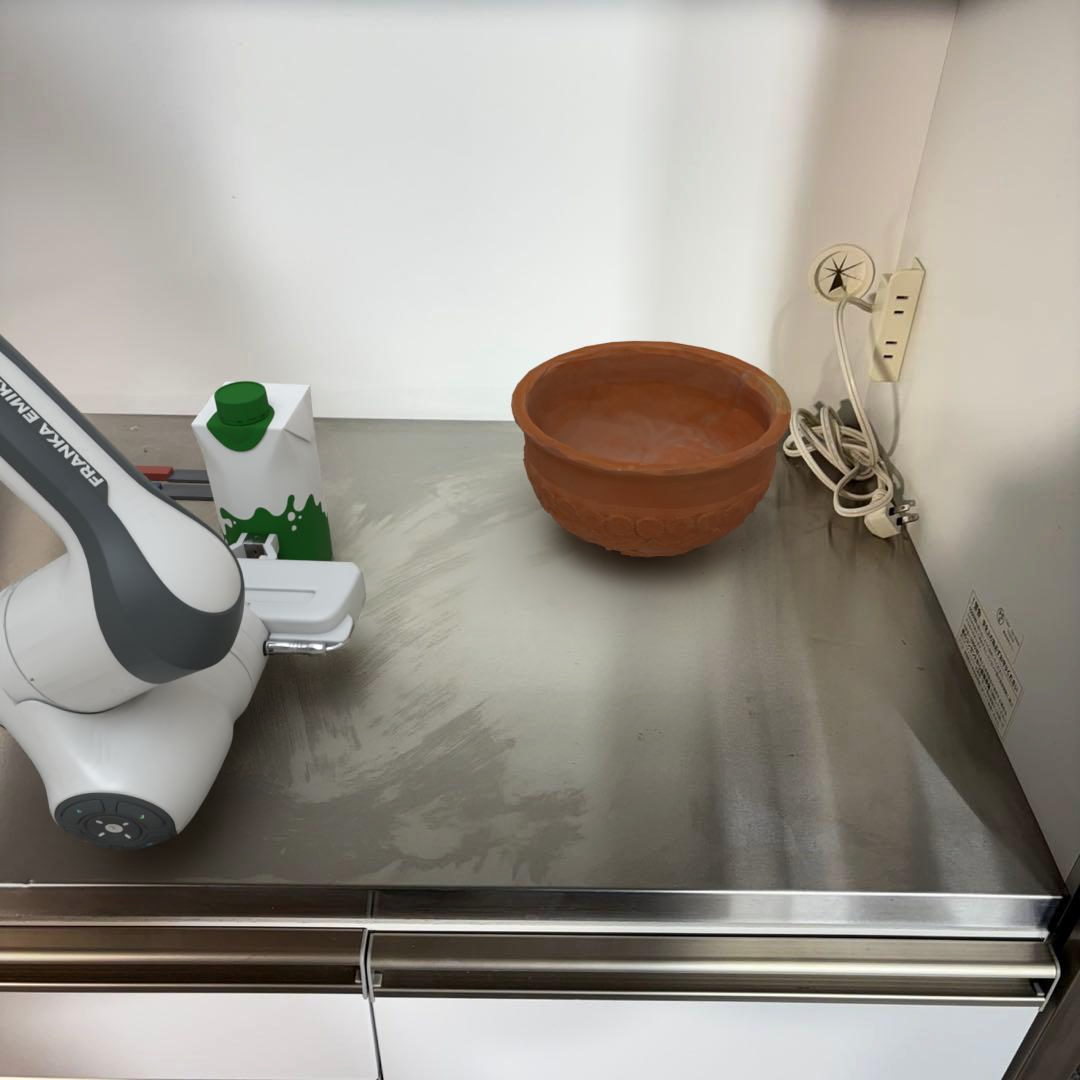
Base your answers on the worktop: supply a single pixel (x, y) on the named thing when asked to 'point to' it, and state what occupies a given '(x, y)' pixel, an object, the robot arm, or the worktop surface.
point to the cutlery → (180, 476)
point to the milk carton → (266, 466)
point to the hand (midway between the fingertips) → (261, 539)
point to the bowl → (649, 443)
